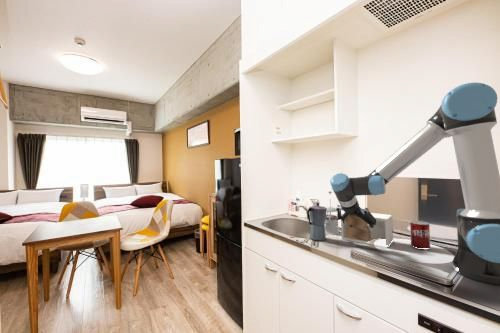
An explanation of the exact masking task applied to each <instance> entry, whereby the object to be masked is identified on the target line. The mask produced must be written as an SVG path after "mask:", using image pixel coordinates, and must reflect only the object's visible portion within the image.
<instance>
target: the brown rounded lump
mask: <svg viewBox="0 0 500 333" xmlns="http://www.w3.org/2000/svg"><path fill="white" fill-rule="evenodd" d="M367 224H368V223H366V222H365V221H364V220H362V219H361V218H360V217H359V218H358V217H357V216H356V215H349V214H348V216H347V217H346V237H347V238H352V239H357V240H362V241H367V242H368V241H369V240H370V239H371V234H370V230H369V228H368V225H367Z"/></svg>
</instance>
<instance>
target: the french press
mask: <svg viewBox="0 0 500 333" xmlns="http://www.w3.org/2000/svg"><path fill="white" fill-rule="evenodd" d="M332 192H333V191H328V194H332ZM329 203H330V204H329V207H328V206H327V207H326V208H327V211H326V219H325V224H324V228H325V235H330V236H335V235H336V236H337V235H340V234H341V231H339V220H338V219H337V215H335V214H334V215H333V214H329V213H335V212H337V210H336V208H337V207H332V206H331V204H332V203H331V200H329Z"/></svg>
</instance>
